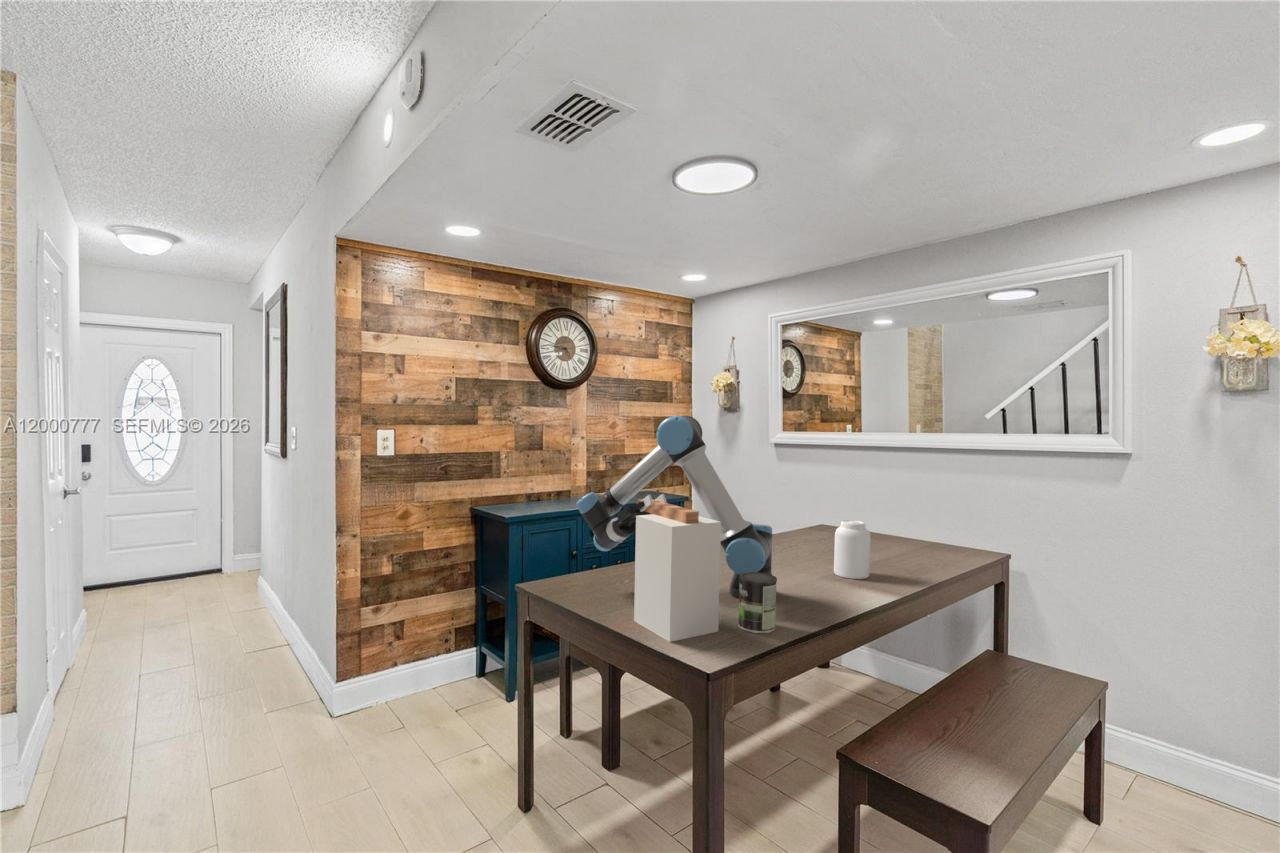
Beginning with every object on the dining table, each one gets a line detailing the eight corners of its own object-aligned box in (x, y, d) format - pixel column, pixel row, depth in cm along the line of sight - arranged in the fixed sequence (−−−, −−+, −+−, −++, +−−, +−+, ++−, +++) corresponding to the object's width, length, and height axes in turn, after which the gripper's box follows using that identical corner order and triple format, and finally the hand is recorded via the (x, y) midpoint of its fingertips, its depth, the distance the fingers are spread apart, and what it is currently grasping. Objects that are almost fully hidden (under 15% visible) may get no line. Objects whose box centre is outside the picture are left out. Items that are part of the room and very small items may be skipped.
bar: (636, 508, 186) (636, 499, 186) (647, 508, 188) (647, 498, 188) (686, 523, 164) (686, 512, 164) (698, 522, 166) (698, 511, 166)
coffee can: (743, 634, 167) (744, 582, 167) (734, 620, 178) (735, 572, 177) (780, 633, 168) (782, 582, 168) (769, 620, 178) (770, 571, 178)
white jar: (874, 580, 223) (876, 525, 223) (839, 579, 223) (841, 524, 223) (862, 571, 236) (864, 518, 235) (829, 570, 236) (831, 518, 235)
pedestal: (634, 620, 176) (636, 515, 175) (680, 612, 184) (682, 511, 183) (669, 642, 160) (672, 526, 159) (718, 631, 169) (720, 521, 168)
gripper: (647, 535, 200) (685, 508, 183) (601, 540, 192) (635, 512, 174) (642, 513, 203) (678, 485, 186) (596, 517, 195) (629, 488, 177)
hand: (657, 498), depth 180 cm, fingers closed on bar, 4 cm apart
